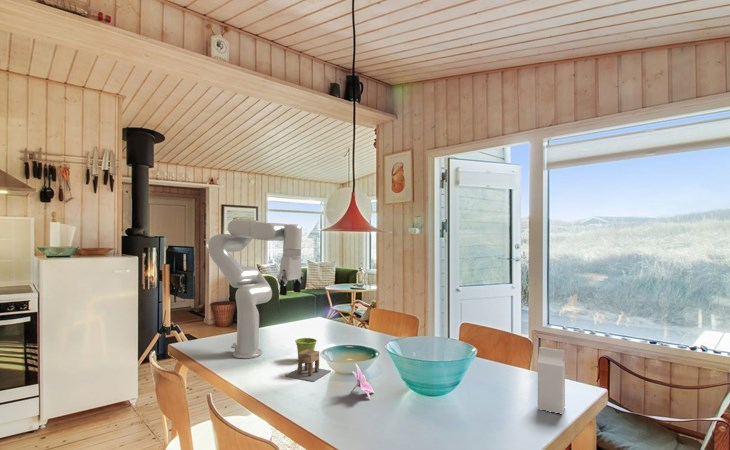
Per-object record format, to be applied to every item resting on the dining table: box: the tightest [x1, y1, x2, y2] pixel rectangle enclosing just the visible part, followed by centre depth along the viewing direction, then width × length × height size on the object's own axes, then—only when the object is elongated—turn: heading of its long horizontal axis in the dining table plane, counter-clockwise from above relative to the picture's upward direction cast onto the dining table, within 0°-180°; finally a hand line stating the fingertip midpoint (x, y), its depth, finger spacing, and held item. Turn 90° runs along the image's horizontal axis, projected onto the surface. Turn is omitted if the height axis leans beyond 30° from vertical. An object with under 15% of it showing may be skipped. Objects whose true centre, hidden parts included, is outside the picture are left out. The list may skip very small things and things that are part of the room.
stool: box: [297, 349, 320, 376], centre depth 158 cm, size 6×6×8 cm
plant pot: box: [294, 337, 318, 354], centre depth 175 cm, size 9×9×9 cm
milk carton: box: [537, 346, 566, 415], centre depth 129 cm, size 7×7×19 cm
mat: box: [284, 365, 332, 383], centre depth 158 cm, size 13×13×1 cm
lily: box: [349, 363, 375, 400], centre depth 137 cm, size 12×12×10 cm
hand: (290, 293), depth 171 cm, fingers open, 9 cm apart
